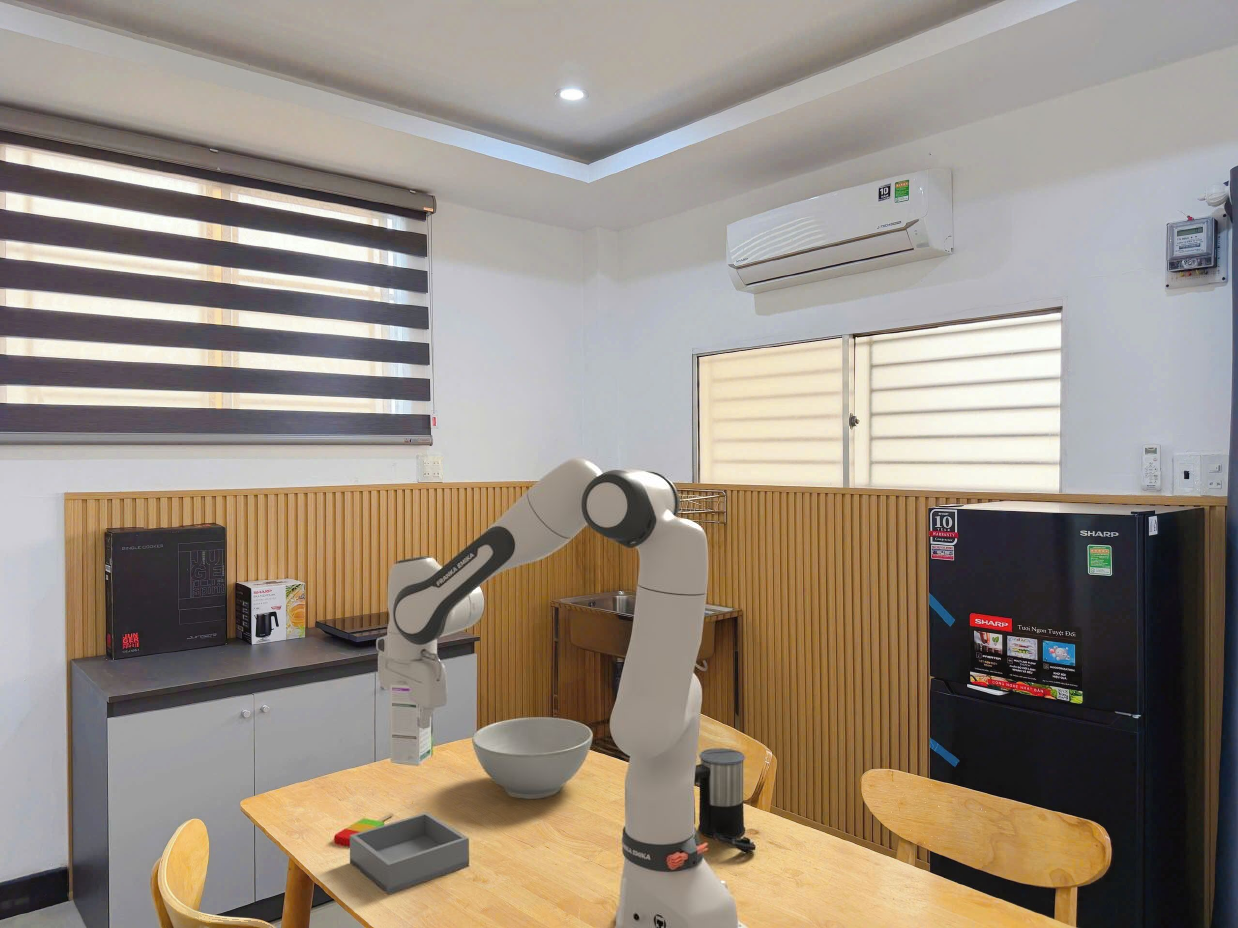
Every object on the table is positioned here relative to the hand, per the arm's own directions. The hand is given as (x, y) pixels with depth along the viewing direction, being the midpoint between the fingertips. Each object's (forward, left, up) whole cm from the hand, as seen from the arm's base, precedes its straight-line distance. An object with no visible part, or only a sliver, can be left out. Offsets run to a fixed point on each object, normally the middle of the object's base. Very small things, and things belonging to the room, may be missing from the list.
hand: (411, 721), depth 156 cm
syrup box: (0, 0, -7) cm, 7 cm away
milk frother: (-31, -50, -26) cm, 65 cm away
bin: (0, +1, -26) cm, 26 cm away
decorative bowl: (+15, -37, -26) cm, 48 cm away
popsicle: (+19, 0, -27) cm, 33 cm away
